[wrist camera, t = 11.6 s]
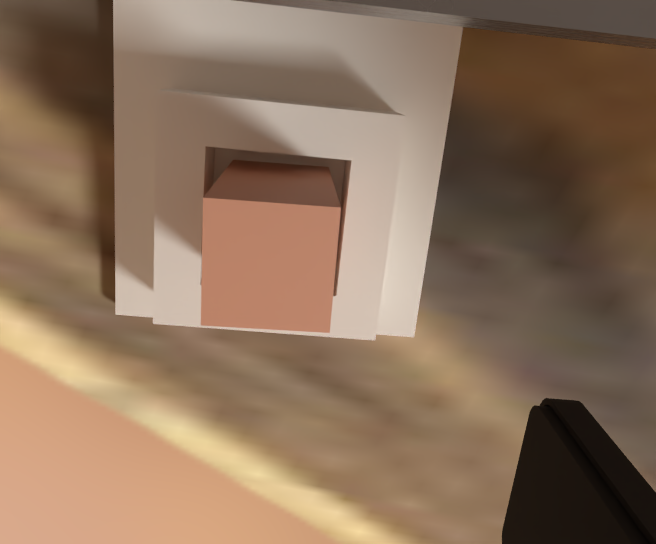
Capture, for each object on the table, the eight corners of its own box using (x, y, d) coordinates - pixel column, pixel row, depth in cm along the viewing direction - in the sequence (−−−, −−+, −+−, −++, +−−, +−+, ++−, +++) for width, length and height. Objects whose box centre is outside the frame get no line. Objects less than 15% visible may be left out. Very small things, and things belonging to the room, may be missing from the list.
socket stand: (477, -101, 26) (508, -132, 22) (410, 329, 32) (425, 364, 28) (119, -148, 24) (86, -189, 21) (121, 307, 31) (95, 340, 27)
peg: (328, 166, 28) (341, 207, 19) (321, 257, 29) (329, 332, 21) (233, 159, 28) (203, 197, 19) (230, 251, 29) (200, 325, 20)
